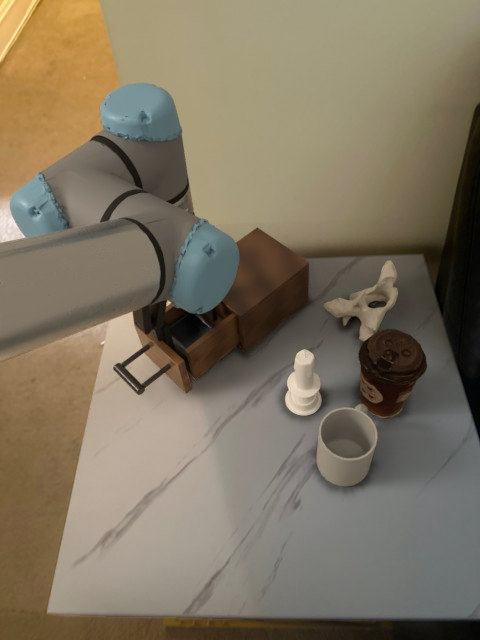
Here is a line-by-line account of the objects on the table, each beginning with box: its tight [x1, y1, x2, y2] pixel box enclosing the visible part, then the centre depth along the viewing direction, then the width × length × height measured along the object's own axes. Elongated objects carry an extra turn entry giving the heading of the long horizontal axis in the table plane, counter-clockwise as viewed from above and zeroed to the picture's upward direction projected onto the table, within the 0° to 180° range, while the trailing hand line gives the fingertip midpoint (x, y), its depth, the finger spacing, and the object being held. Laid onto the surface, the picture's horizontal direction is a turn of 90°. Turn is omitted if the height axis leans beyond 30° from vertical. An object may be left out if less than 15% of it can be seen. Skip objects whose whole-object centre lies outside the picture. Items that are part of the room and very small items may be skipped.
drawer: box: [112, 302, 241, 396], centre depth 85 cm, size 20×10×8 cm, turn 133°
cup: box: [316, 403, 379, 487], centre depth 74 cm, size 7×10×9 cm
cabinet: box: [220, 226, 310, 354], centre depth 91 cm, size 15×12×10 cm
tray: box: [169, 312, 214, 364], centre depth 87 cm, size 6×7×4 cm
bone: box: [323, 260, 399, 343], centre depth 90 cm, size 9×14×8 cm, turn 142°
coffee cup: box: [357, 328, 428, 419], centre depth 77 cm, size 9×8×13 cm
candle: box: [284, 348, 323, 417], centre depth 78 cm, size 5×5×12 cm
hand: (189, 331), depth 85 cm, fingers open, 8 cm apart
